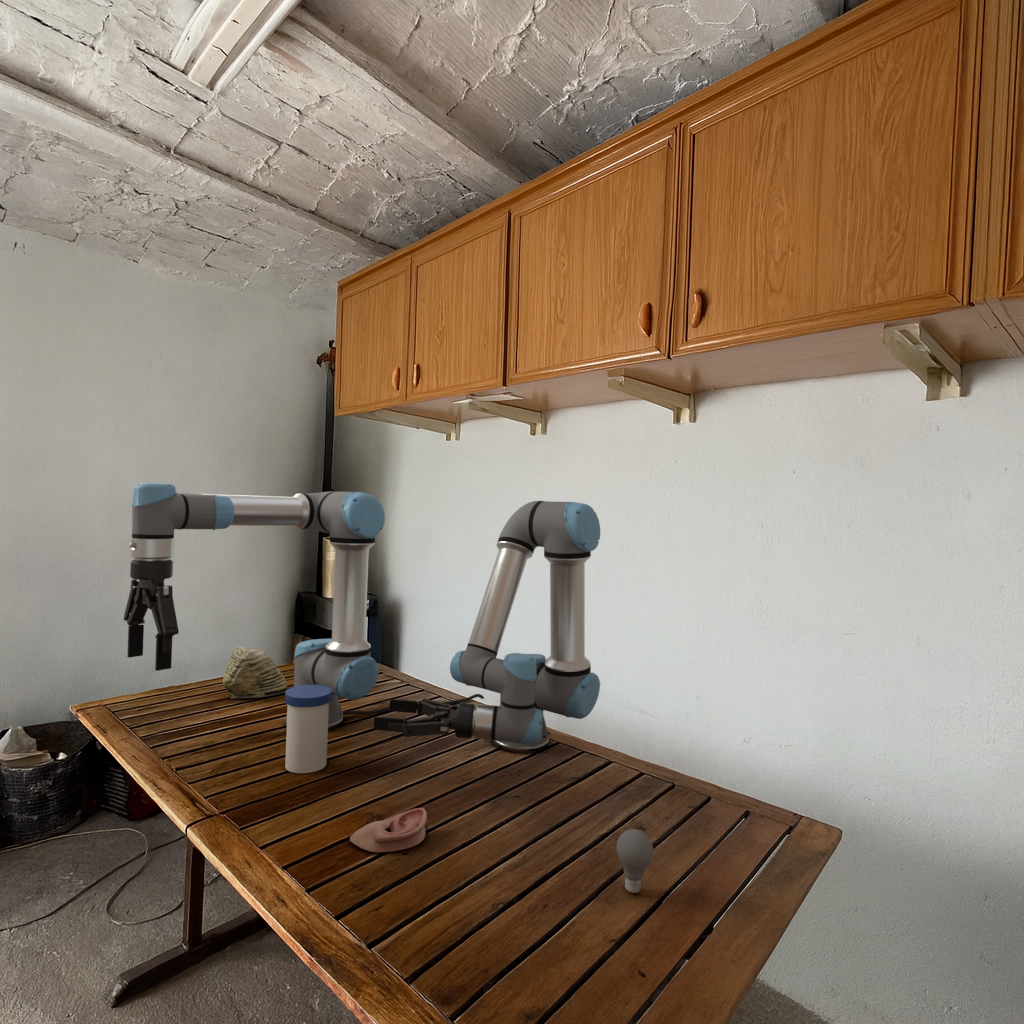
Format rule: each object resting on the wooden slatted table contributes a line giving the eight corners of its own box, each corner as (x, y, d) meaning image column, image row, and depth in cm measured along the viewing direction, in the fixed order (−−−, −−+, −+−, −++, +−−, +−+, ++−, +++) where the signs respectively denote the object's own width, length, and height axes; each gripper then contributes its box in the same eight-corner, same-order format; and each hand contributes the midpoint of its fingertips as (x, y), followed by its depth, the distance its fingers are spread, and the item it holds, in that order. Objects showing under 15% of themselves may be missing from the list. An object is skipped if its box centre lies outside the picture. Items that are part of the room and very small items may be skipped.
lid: (283, 695, 152) (283, 686, 152) (328, 691, 156) (329, 683, 156) (286, 709, 142) (286, 699, 142) (334, 705, 146) (335, 695, 146)
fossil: (218, 695, 195) (220, 647, 195) (278, 685, 208) (279, 640, 207) (228, 703, 189) (230, 653, 188) (289, 692, 201) (290, 645, 201)
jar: (283, 759, 151) (286, 688, 151) (323, 754, 155) (326, 685, 155) (286, 775, 143) (289, 700, 143) (329, 770, 147) (331, 697, 146)
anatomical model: (342, 825, 115) (369, 797, 126) (341, 847, 115) (368, 817, 126) (412, 836, 112) (433, 806, 123) (411, 859, 112) (432, 826, 123)
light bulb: (610, 879, 108) (613, 822, 108) (644, 879, 109) (647, 822, 109) (619, 902, 102) (622, 840, 102) (655, 901, 103) (658, 840, 103)
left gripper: (108, 554, 134) (104, 654, 134) (159, 565, 118) (155, 678, 119) (146, 552, 140) (143, 648, 140) (199, 563, 124) (195, 671, 124)
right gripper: (465, 758, 131) (365, 749, 133) (479, 720, 156) (394, 713, 158) (468, 722, 131) (367, 713, 133) (481, 690, 156) (396, 683, 158)
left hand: (148, 662), depth 129 cm, fingers open, 13 cm apart
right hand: (382, 713), depth 145 cm, fingers open, 13 cm apart
